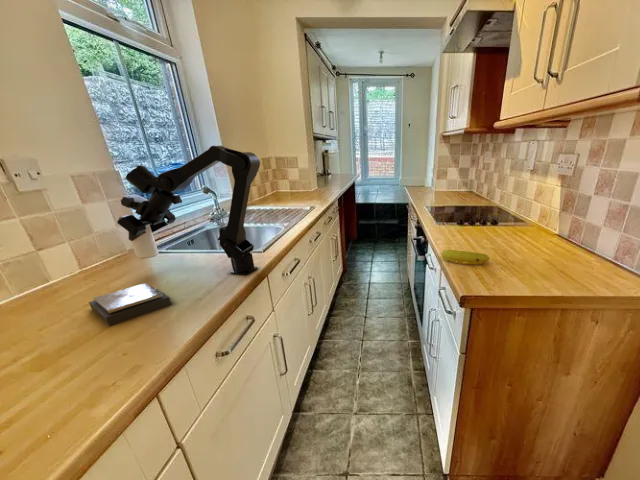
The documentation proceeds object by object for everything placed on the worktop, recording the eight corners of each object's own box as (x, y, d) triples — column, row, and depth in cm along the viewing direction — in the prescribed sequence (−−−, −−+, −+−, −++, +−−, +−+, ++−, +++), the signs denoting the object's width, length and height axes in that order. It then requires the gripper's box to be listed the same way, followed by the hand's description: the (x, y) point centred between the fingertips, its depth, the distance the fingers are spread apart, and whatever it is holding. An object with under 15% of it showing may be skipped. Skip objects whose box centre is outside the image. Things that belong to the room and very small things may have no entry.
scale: (153, 291, 95) (150, 284, 94) (173, 304, 88) (171, 296, 87) (92, 310, 85) (88, 302, 84) (109, 326, 77) (105, 317, 76)
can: (150, 258, 107) (138, 223, 102) (132, 259, 107) (119, 223, 102) (163, 252, 113) (152, 219, 108) (145, 253, 113) (134, 219, 108)
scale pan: (145, 285, 93) (145, 283, 92) (163, 296, 86) (162, 293, 86) (94, 300, 84) (92, 297, 84) (109, 313, 77) (107, 310, 77)
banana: (494, 254, 112) (482, 248, 126) (446, 251, 112) (439, 245, 126) (492, 266, 113) (480, 259, 128) (444, 263, 113) (437, 256, 127)
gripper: (157, 182, 109) (137, 214, 114) (111, 189, 92) (90, 227, 97) (185, 205, 112) (165, 236, 117) (146, 216, 95) (124, 252, 100)
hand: (138, 237), depth 108 cm, fingers closed on can, 6 cm apart
